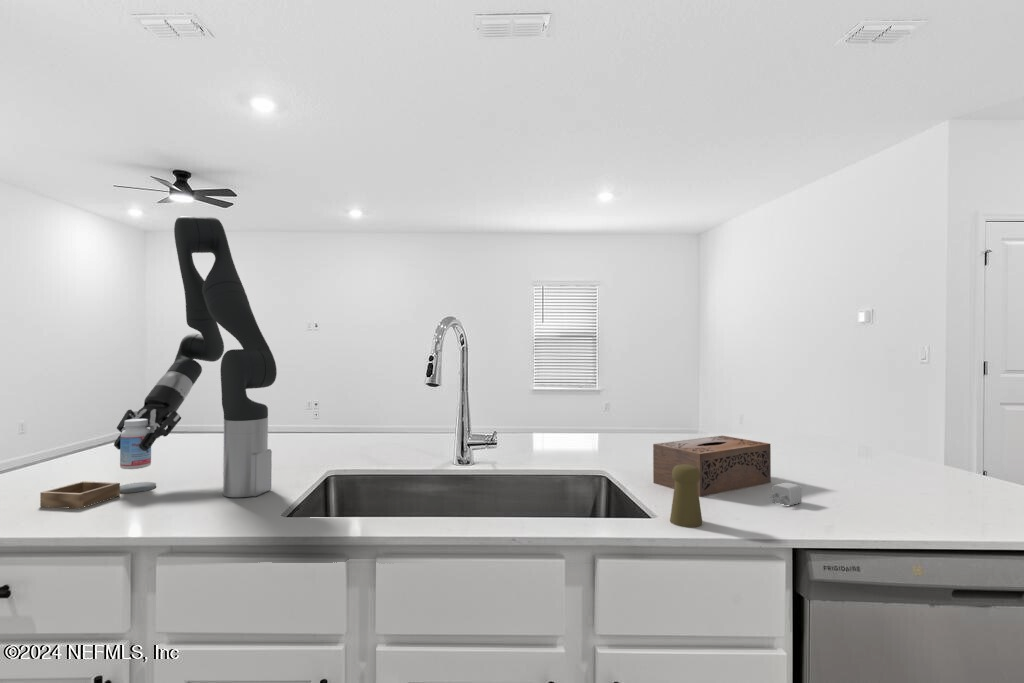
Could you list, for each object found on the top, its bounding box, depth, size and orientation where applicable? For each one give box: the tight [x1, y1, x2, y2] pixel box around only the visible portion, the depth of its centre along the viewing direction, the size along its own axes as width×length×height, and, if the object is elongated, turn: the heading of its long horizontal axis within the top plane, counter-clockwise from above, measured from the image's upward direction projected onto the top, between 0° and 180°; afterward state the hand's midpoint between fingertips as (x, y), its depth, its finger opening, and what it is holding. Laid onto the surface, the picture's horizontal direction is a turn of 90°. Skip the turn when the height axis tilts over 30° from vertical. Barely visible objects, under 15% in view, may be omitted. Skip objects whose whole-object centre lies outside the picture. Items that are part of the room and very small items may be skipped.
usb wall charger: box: [769, 482, 803, 507], centre depth 117 cm, size 4×7×4 cm, turn 122°
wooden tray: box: [39, 480, 121, 509], centre depth 118 cm, size 10×10×3 cm
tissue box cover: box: [652, 435, 772, 498], centre depth 135 cm, size 26×14×10 cm, turn 120°
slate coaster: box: [120, 481, 157, 494], centre depth 128 cm, size 8×8×1 cm
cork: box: [669, 464, 703, 528], centre depth 105 cm, size 6×6×11 cm
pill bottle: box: [119, 419, 152, 470], centre depth 129 cm, size 6×6×11 cm
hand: (130, 448), depth 127 cm, fingers closed on pill bottle, 6 cm apart
